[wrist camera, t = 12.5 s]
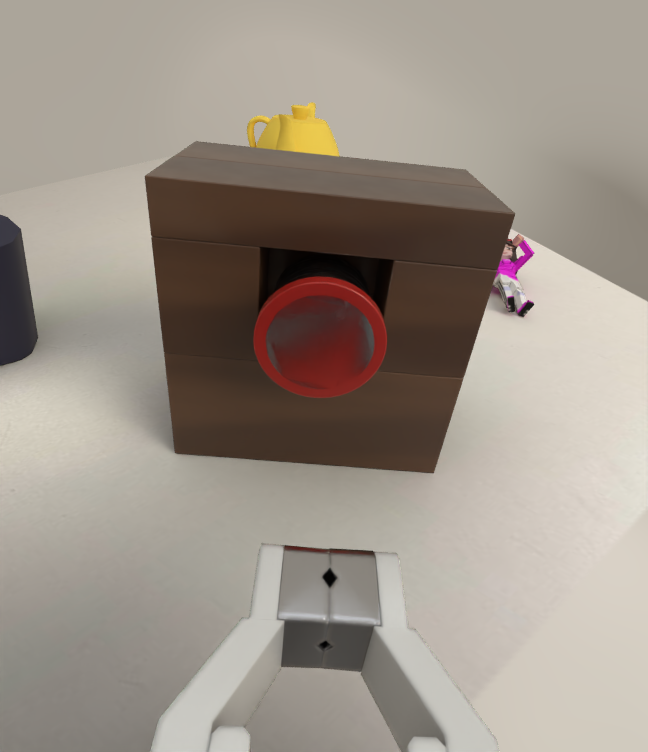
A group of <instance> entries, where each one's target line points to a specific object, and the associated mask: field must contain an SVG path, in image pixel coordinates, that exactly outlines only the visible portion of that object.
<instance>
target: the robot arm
mask: <svg viewBox="0 0 648 752" xmlns="http://www.w3.org/2000/svg"><path fill="white" fill-rule="evenodd" d="M281 667H301V668H324V669H335V670H347V671H358V672H361V676H362V677H363V679H364V681H365V683H366V685H367V687H368V689H369V691H370V693H371V695H372V697H373V698H374V700H375V702H376V704H377V706H378V708H379V710H380V712H381V714H382V716H383V717H384V719H385V721H386V723H387V725H388V727H389V729H390V731H391V733H392V735H393V737H394V738H395V740H396V742H397V744H398V746H399V748H400V750H401V752H499V748H498V743H497V740H496V738H495V737H494V735H493V734H492V732H491V731H490V730H489V728H488V727H487V726H486V724H485V723H484V722H483V720H482V719H481V718H480V716H479V715H478V713H477V712H476V711H475V709H474V708H473V707H472V705H471V704H470V702H469V701H468V700H467V698H466V697H465V696H464V694H463V693H462V692H461V690H460V689H459V687H458V686H457V685H456V683H455V682H454V681H453V679H452V678H451V677H450V675H449V674H448V672H447V671H446V670H445V668H444V667H443V666H442V664H441V663H440V661H439V660H438V659H437V657H436V656H435V655H434V653H433V652H432V651H431V649H430V648H429V646H428V645H427V644H426V642H425V641H424V640H423V638H422V637H421V636H420V634H419V633H418V631H417V630H416V629H412V628H409V627H408V619H407V612H406V604H405V597H404V589H403V582H402V574H401V567H400V559H399V557H398V555H397V553H388V552H373V551H366V550H347V549H321V548H309V547H298V546H286V545H285V548H284V545H276V544H261V546H260V549H259V554H258V561H257V568H256V575H255V581H254V588H253V595H252V601H251V608H250V615H249V618H241V619H240V621H239V622H238V623H237V624H236V626H235V627H234V628H233V629H232V630H231V632H230V633H229V634H228V635H227V636H226V638H225V639H224V640H223V641H222V643H221V644H220V645H219V646H218V647H217V649H216V650H215V651H214V652H213V654H212V655H211V656H210V657H209V658H208V660H207V661H206V662H205V663H204V665H203V666H202V667H201V668H200V669H199V671H198V672H197V673H196V674H195V675H194V677H193V678H192V679H191V680H190V682H189V683H188V684H187V685H186V686H185V688H184V689H183V690H182V691H181V693H180V694H179V695H178V696H177V697H176V699H175V700H174V701H173V702H172V703H171V705H170V706H169V707H168V708H167V710H166V711H165V712H164V713H163V714H162V716H161V717H160V718H159V720H158V724H157V728H156V731H155V735H154V739H153V743H152V746H151V750H150V752H250V735H249V733H248V732H247V731H246V729H245V726H246V725H247V723H248V721H249V720H250V718H251V717H252V715H253V713H254V712H255V710H256V709H257V707H258V705H259V704H260V702H261V701H262V699H263V697H264V696H265V694H266V693H267V691H268V689H269V688H270V686H271V685H272V683H273V681H274V680H275V678H276V677H277V675H278V673H279V672H280V670H281Z"/></svg>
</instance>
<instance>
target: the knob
mask: <svg viewBox="0 0 648 752" xmlns="http://www.w3.org/2000/svg"><path fill="white" fill-rule="evenodd" d="M253 345H254V350H255V354H256V357H257V360H258V362H259V364H260V365H261V367H262V369H263V370H264V371H265V373H266V374H267V375H268V376H269V377H270V378H271V379H272V380H273V381H274V382H275V383H277V384H278V385H279V386H281V387H283V388H284V389H286V390H288V391H290V392H292V393H295V394H298V395H302V396H306V397H313V398H329V397H336V396H340V395H343V394H347V393H349V392H351V391H354V390H355V389H357V388H359V387H361V386H362V385H363V384H365V383H366V382H367V381H368V380H369V379H370V378H372V376H373V375H374V374H375V373H376V372H377V370H378V369H379V367H380V365H381V364H382V361H383V359H384V356H385V353H386V348H387V332H386V327H385V322H384V319H383V316H382V314H381V312H380V310H379V308H378V306H377V305H376V303H375V302H374V301H373V300H372V299H371V297H370V293H369V288H368V285H367V282H366V280H365V279H364V277H363V275H362V274H361V273H360V271H359V270H358V269H357V268H356V267H354V266H353V265H352V264H351V263H349V262H347V261H346V260H344V259H341V258H339V257H336V256H332V255H322V254H319V255H311V256H307V257H304V258H301V259H299V260H297V261H295V262H294V263H292V264H291V265H289V266H288V267H287V268H286V269H285V270H284V271H283V273H282V274H281V275H280V277H279V278H278V280H277V283H276V285H275V289H274V293H273V294H272V295H271V296H270V297H269V298H268V300H267V301H266V302H265V303H264V305H263V306H262V308H261V310H260V312H259V314H258V317H257V320H256V324H255V328H254V334H253Z"/></svg>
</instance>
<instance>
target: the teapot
mask: <svg viewBox="0 0 648 752" xmlns="http://www.w3.org/2000/svg"><path fill="white" fill-rule="evenodd" d="M291 107H292V112H293V115H275V116H274V117H272V119H271V120H270V119H269V118H267V117H265V116H256V117H254V118H252V119H251V120H250V121H249V123H248V126H247V134H248V140H249V144H250V147H255V148H264V149H274V150H283V151H293V152H302V153H312V154H321V155H331V156H339V152H338V148H337V145H336V142H335V139H334V137H333V134H332V132H331V130H330V128H329V126H328V124H327V122H326V121H325V120H322V119H318V118H315V108H316V106H315V103H309V104H308V106H302V105H292V106H291ZM257 122H264V123H266V124H267V126H266V128H265V129H264V131H263V133H262V135H261V137H260V138H259V141H258V143H257V146H256V142H255V137H254V125H255V123H257Z"/></svg>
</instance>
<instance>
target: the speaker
mask: <svg viewBox="0 0 648 752" xmlns="http://www.w3.org/2000/svg"><path fill="white" fill-rule="evenodd" d="M37 339H38V335H37V328H36V322H35V316H34V309H33V303H32V297H31V290H30V284H29V278H28V271H27V265H26V259H25V252H24V246H23V240H22V233H21V229H20V228H19V227H18V226H17V225H16V224H14V223H13V222H12V221H11V220H10V219H9V218H8V217H6V216H3V215H0V365H4V364H7V363H11V362H15V361H18V360H22V359H23V358H25V357H26V356H28V355H29V354H31V353H32V351H33V348H34V346H35V344H36V341H37Z"/></svg>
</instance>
